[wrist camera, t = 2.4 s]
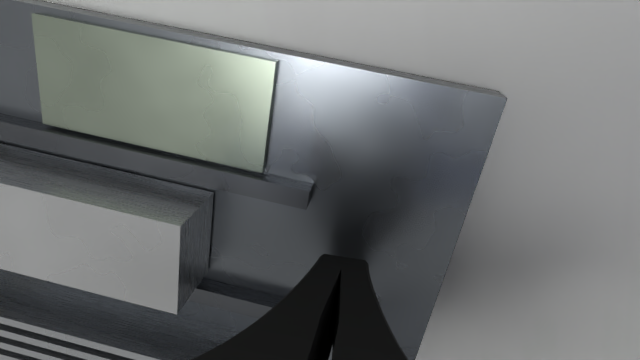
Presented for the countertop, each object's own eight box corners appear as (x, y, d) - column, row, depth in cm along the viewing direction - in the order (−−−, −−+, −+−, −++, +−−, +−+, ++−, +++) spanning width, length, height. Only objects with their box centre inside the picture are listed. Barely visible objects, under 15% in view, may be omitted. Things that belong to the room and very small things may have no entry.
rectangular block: (213, 192, 13) (180, 226, 11) (207, 271, 14) (177, 314, 12) (-74, 126, 14) (-154, 146, 12) (-57, 205, 15) (-127, 235, 13)
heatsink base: (498, 91, 12) (557, 138, 7) (394, 393, 16) (395, 527, 12) (-274, -62, 14) (-571, -93, 9) (-165, 246, 18) (-329, 316, 14)
